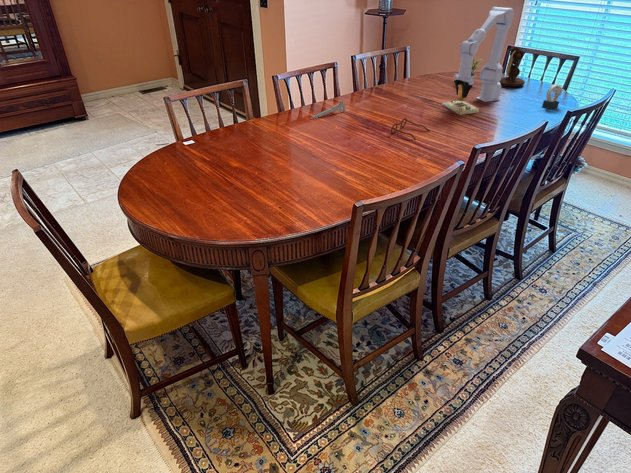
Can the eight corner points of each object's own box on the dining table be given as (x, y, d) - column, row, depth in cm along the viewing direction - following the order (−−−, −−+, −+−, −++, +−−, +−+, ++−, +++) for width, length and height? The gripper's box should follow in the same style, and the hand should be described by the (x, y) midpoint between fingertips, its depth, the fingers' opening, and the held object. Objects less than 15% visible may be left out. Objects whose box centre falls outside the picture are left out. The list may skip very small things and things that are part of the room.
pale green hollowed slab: (459, 102, 230) (460, 97, 228) (478, 112, 215) (479, 107, 214) (442, 104, 228) (442, 99, 226) (460, 115, 213) (461, 109, 212)
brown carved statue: (494, 82, 261) (501, 46, 249) (520, 82, 259) (528, 46, 247) (499, 88, 248) (506, 51, 237) (526, 88, 246) (535, 51, 235)
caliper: (344, 112, 225) (344, 99, 222) (345, 112, 224) (345, 100, 221) (310, 119, 217) (309, 107, 214) (311, 120, 216) (310, 107, 213)
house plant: (484, 88, 249) (490, 58, 240) (460, 89, 250) (464, 59, 241) (477, 82, 261) (482, 53, 252) (454, 83, 262) (458, 54, 253)
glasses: (404, 126, 204) (405, 116, 201) (429, 132, 197) (431, 121, 194) (389, 135, 196) (390, 124, 193) (415, 141, 189) (416, 130, 186)
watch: (560, 107, 218) (566, 84, 211) (549, 110, 215) (555, 87, 208) (550, 104, 222) (556, 82, 216) (539, 107, 219) (545, 85, 213)
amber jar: (463, 97, 222) (465, 82, 217) (468, 100, 218) (470, 85, 213) (454, 98, 221) (456, 84, 217) (459, 101, 217) (461, 86, 213)
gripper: (450, 65, 216) (447, 93, 223) (466, 72, 204) (462, 100, 211) (463, 64, 217) (459, 91, 225) (479, 70, 205) (474, 99, 213)
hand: (461, 96), depth 218 cm, fingers closed on amber jar, 5 cm apart
